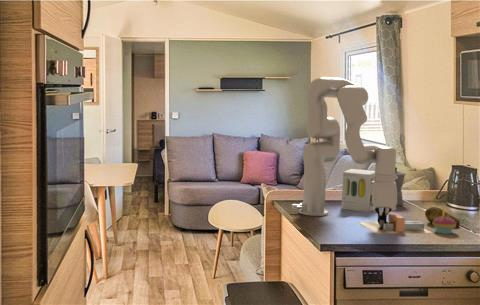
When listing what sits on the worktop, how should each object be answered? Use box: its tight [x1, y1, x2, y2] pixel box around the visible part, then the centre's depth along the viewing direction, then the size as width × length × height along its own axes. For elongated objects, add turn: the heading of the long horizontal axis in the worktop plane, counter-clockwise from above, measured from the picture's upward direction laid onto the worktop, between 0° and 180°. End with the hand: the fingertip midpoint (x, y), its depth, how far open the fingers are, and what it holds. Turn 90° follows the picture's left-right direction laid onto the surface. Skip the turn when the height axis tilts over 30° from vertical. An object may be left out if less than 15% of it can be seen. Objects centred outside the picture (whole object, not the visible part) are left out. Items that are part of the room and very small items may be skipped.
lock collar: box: [387, 212, 406, 232], centre depth 209 cm, size 3×8×5 cm, turn 9°
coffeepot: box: [394, 166, 406, 206], centre depth 266 cm, size 15×9×18 cm, turn 124°
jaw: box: [386, 220, 423, 223], centre depth 211 cm, size 14×2×3 cm, turn 99°
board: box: [358, 221, 433, 235], centre depth 213 cm, size 23×18×1 cm
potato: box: [424, 206, 461, 228], centre depth 220 cm, size 8×13×8 cm, turn 44°
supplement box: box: [340, 168, 376, 213], centre depth 253 cm, size 13×13×18 cm
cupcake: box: [431, 203, 457, 235], centre depth 208 cm, size 9×8×12 cm
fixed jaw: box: [379, 220, 425, 231], centre depth 210 cm, size 17×4×4 cm, turn 99°
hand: (381, 224), depth 212 cm, fingers closed
